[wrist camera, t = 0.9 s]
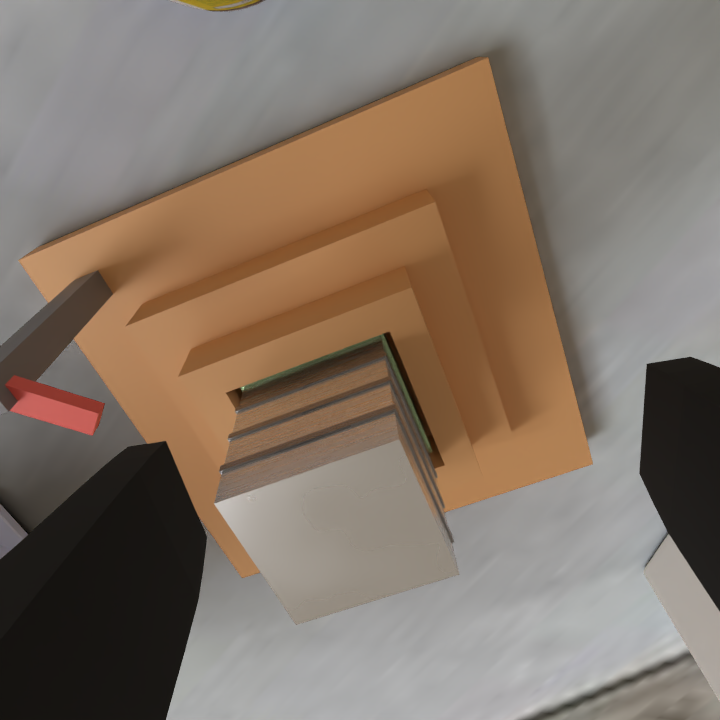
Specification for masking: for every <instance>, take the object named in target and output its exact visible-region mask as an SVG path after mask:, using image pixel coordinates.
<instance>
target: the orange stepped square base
mask: <svg viewBox="0 0 720 720" xmlns="http://www.w3.org/2000/svg"><path fill="white" fill-rule="evenodd" d="M18 261H19V262H20V264H21V265H22V266H23V268H24V269H25V271H26V272H27V273H28V275H29V276H30V278H31V279H32V281H33V282H34V283H35V285H36V286H37V288H38V289H39V290H40V292H41V293H42V295H43V296H44V298H45V299H46V300H47V302H48V304H47V305H46V306H45V307H44V308H43V309H41V310H40V311H39V312H38V313H37V314H36V315H35V316H34V317H33V318H31V319H30V320H29V321H28V322H27V323H26V324H25V325H24V326H23V327H21V328H20V329H19V330H18V331H17V332H16V333H15V334H14V335H13V336H11V337H10V338H9V339H8V340H7V341H6V342H5V343H4V344H3V345H1V346H0V415H2V414H4V413H7V412H9V411H12V412H15V413H19V414H22V415H25V416H29V417H32V418H35V419H39V420H42V421H45V422H49V423H52V424H55V425H59V426H62V427H65V428H69V429H72V430H75V431H79V432H82V433H85V434H89V435H93V434H94V432H95V431H96V429H97V427H98V426H99V423H100V419H101V416H102V412H103V408H104V405H105V403H102V402H99V401H95V400H92V399H89V398H86V397H83V396H79V395H76V394H73V393H70V392H67V391H63V390H60V389H57V388H54V387H51V386H47V385H44V384H41V383H38V382H36V380H37V379H38V378H39V377H40V376H41V375H42V374H43V373H44V371H45V370H46V369H47V368H48V367H49V366H50V365H51V364H52V362H53V361H54V360H55V359H56V358H57V357H58V356H59V355H60V353H61V352H62V351H63V350H64V349H65V348H66V347H67V345H68V344H69V343H70V342H71V341H72V340H73V339H74V340H75V342H76V343H77V344H78V346H79V347H80V349H81V350H82V352H83V353H84V354H85V356H86V357H87V359H88V360H89V361H90V363H91V364H92V366H93V367H94V369H95V370H96V371H97V373H98V374H99V376H100V377H101V378H102V380H103V381H104V383H105V384H106V386H107V387H108V388H109V390H110V391H111V393H112V394H113V396H114V397H115V398H116V400H117V401H118V403H119V404H120V405H121V407H122V408H123V410H124V411H125V413H126V414H127V415H128V417H129V418H130V420H131V421H132V422H133V424H134V425H135V427H136V428H137V430H138V431H139V432H140V434H141V435H142V437H143V438H144V440H145V441H146V442H147V444H149V443H156V442H162V441H166V442H167V444H168V447H169V449H170V451H171V454H172V456H173V458H174V461H175V463H176V465H177V468H178V470H179V472H180V475H181V477H182V480H183V482H184V484H185V487H186V489H187V491H188V494H189V496H190V498H191V501H192V503H193V505H194V508H195V510H196V512H197V515H198V516H199V518H200V519H201V520H202V522H203V523H204V525H205V526H206V527H207V529H208V530H209V532H210V533H211V535H212V536H213V537H214V539H215V540H216V542H217V543H218V545H219V546H220V547H221V549H222V550H223V552H224V553H225V554H226V556H227V557H228V559H229V560H230V562H231V563H232V564H233V566H234V567H235V569H236V570H237V571H238V573H239V574H240V576H241V577H242V578H245V577H248V576H251V575H254V574H257V573H260V571H259V569H258V568H257V566H256V565H255V563H254V562H253V561H252V559H251V558H250V556H249V555H248V553H247V552H246V550H245V549H244V547H243V546H242V544H241V543H240V541H239V540H238V538H237V537H236V535H235V534H234V533H233V531H232V530H231V528H230V527H229V525H228V524H227V522H226V521H225V519H224V518H223V516H222V515H221V513H220V512H219V510H218V509H217V507H216V506H215V505H214V502H215V498H216V494H217V490H218V486H219V482H220V479H221V474H220V472H219V469H220V466H221V465H224V463H225V459H226V455H227V451H228V447H229V443H230V442H229V441H228V435H229V434H231V433H232V432H233V428H234V424H235V420H236V416H237V414H236V413H235V409H236V407H238V406H239V405H240V401H241V397H242V393H243V392H242V390H241V388H240V387H242V386H245V385H248V384H250V383H253V382H256V381H258V380H261V379H264V378H266V377H269V376H272V375H274V374H277V373H280V372H282V371H285V370H288V369H290V368H293V367H296V366H298V365H301V364H304V363H306V362H309V361H312V360H314V359H317V358H320V357H322V356H325V355H328V354H330V353H333V352H336V351H338V350H341V349H344V348H346V347H349V346H352V345H354V344H357V343H360V342H362V341H365V340H368V339H370V338H373V337H376V336H378V335H381V334H384V333H385V334H386V336H387V339H388V341H389V344H390V346H391V348H392V351H393V353H394V356H395V358H396V360H397V363H398V365H399V368H400V370H401V372H402V375H403V377H404V380H405V382H406V384H407V387H408V389H409V392H410V394H411V396H412V399H413V401H414V404H415V406H416V408H417V411H418V413H419V416H420V418H421V420H422V423H423V425H424V428H425V430H426V432H427V435H428V437H429V440H430V443H431V447H432V451H433V452H430V456H431V460H432V463H433V465H434V468H435V470H436V472H437V476H438V478H436V480H437V485H438V489H439V492H440V494H441V496H442V499H443V501H444V504H445V508H443V509H444V512H447V511H450V510H453V509H456V508H459V507H463V506H466V505H469V504H472V503H475V502H478V501H481V500H484V499H487V498H490V497H493V496H496V495H499V494H502V493H506V492H509V491H512V490H515V489H518V488H521V487H524V486H527V485H530V484H533V483H536V482H539V481H542V480H545V479H549V478H552V477H555V476H558V475H561V474H564V473H567V472H570V471H573V470H576V469H579V468H582V467H585V466H588V465H592V464H593V462H592V458H591V454H590V450H589V446H588V443H587V439H586V435H585V431H584V427H583V423H582V419H581V415H580V412H579V408H578V404H577V400H576V396H575V392H574V388H573V384H572V381H571V377H570V373H569V369H568V365H567V361H566V357H565V353H564V350H563V346H562V342H561V338H560V334H559V330H558V326H557V322H556V319H555V315H554V311H553V307H552V303H551V299H550V295H549V291H548V287H547V284H546V280H545V276H544V272H543V268H542V264H541V260H540V256H539V253H538V249H537V245H536V241H535V237H534V233H533V229H532V225H531V222H530V218H529V214H528V210H527V206H526V202H525V198H524V194H523V191H522V187H521V183H520V179H519V175H518V171H517V167H516V163H515V160H514V156H513V152H512V148H511V144H510V140H509V136H508V132H507V129H506V125H505V121H504V117H503V113H502V109H501V105H500V101H499V97H498V94H497V90H496V86H495V82H494V78H493V74H492V70H491V66H490V63H489V59H488V57H476V58H474V59H472V60H470V61H467V62H465V63H463V64H460V65H458V66H456V67H453V68H451V69H449V70H446V71H444V72H442V73H440V74H437V75H435V76H433V77H430V78H428V79H426V80H423V81H421V82H419V83H416V84H414V85H412V86H409V87H407V88H405V89H403V90H400V91H398V92H396V93H393V94H391V95H389V96H386V97H384V98H382V99H379V100H377V101H375V102H373V103H370V104H368V105H366V106H363V107H361V108H359V109H356V110H354V111H352V112H349V113H347V114H345V115H342V116H340V117H338V118H336V119H333V120H331V121H329V122H326V123H324V124H322V125H319V126H317V127H315V128H312V129H310V130H308V131H306V132H303V133H301V134H299V135H296V136H294V137H292V138H289V139H287V140H285V141H282V142H280V143H278V144H275V145H273V146H271V147H269V148H266V149H264V150H262V151H259V152H257V153H255V154H252V155H250V156H248V157H245V158H243V159H241V160H239V161H236V162H234V163H232V164H229V165H227V166H225V167H222V168H220V169H218V170H215V171H213V172H211V173H208V174H206V175H204V176H202V177H199V178H197V179H195V180H192V181H190V182H188V183H185V184H183V185H181V186H178V187H176V188H174V189H172V190H169V191H167V192H165V193H162V194H160V195H158V196H155V197H153V198H151V199H148V200H146V201H144V202H142V203H139V204H137V205H135V206H132V207H130V208H128V209H125V210H123V211H121V212H118V213H116V214H114V215H111V216H109V217H107V218H105V219H102V220H100V221H98V222H95V223H93V224H91V225H88V226H86V227H84V228H81V229H79V230H77V231H75V232H72V233H70V234H68V235H65V236H63V237H61V238H58V239H56V240H54V241H51V242H49V243H47V244H44V245H42V246H40V247H38V248H36V249H34V250H33V251H31V252H30V253H28V254H27V255H25V256H24V257H22V258H21V259H20V260H18Z"/></svg>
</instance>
